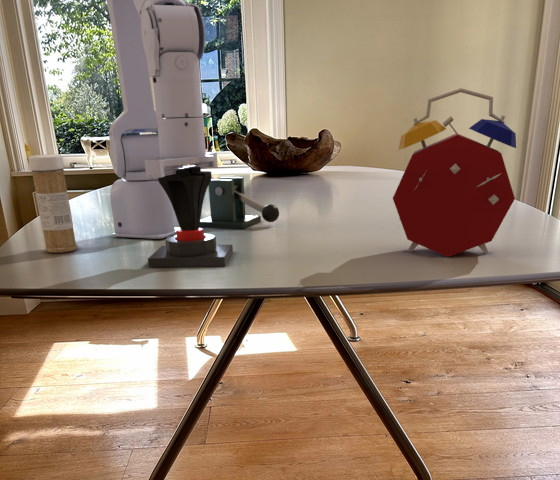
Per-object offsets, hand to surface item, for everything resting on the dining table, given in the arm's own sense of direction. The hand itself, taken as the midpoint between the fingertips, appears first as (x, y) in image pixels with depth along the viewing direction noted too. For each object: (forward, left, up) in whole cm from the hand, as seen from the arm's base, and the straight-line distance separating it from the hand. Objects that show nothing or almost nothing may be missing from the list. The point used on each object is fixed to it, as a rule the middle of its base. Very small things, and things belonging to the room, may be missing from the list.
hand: (189, 229), depth 79 cm
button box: (0, 0, -4) cm, 4 cm away
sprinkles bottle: (-23, 0, -4) cm, 23 cm away
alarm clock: (+32, +12, -4) cm, 34 cm away
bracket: (-8, +27, -4) cm, 28 cm away
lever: (-4, +27, -1) cm, 27 cm away
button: (0, 0, -2) cm, 2 cm away
